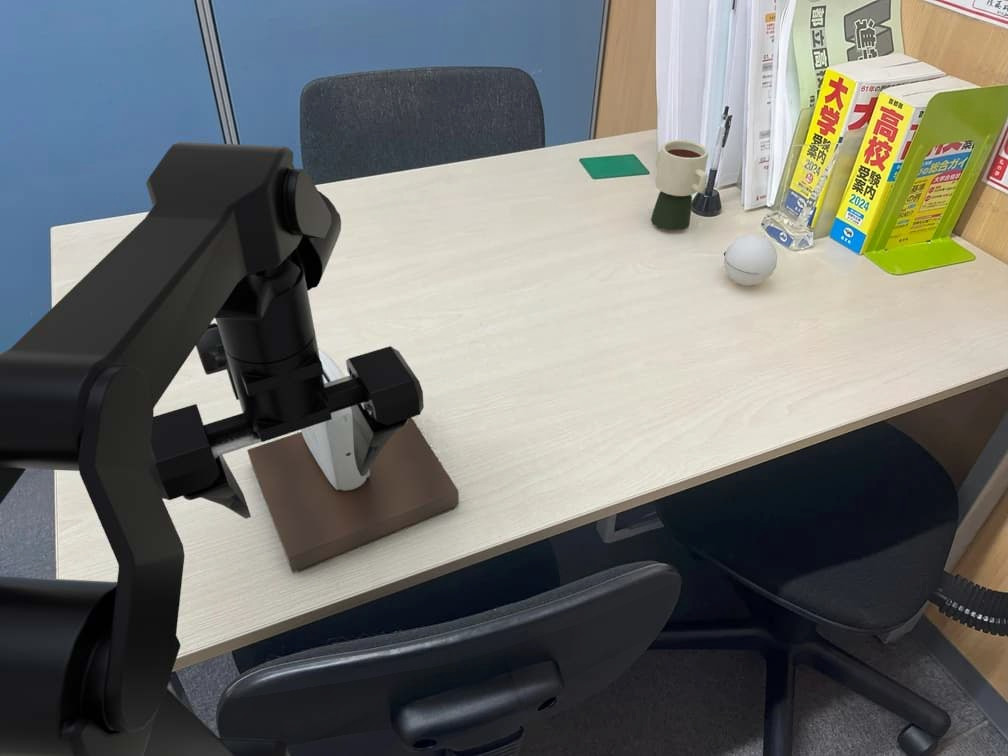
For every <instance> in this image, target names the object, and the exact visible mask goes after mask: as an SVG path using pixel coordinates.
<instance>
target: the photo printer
mask: <svg viewBox="0 0 1008 756" xmlns="http://www.w3.org/2000/svg"><path fill="white" fill-rule="evenodd" d="M318 352H319V357H320V360H321V362H322V367H323V373H324V374H323V379H324V383H327V382H331V381H334V380H337V379H340V378H344V377H347V376H346V375H345V373H344V372H343V370H342V369H341V368H340V366H339V365H338V364H337V362H335V360H334V359H333V358H332V357H331V356H330V355H329V354H328V353H327V352H326V351H325V350H323V348H320V347H318ZM331 417H332V419H331V420H328V421H325V422H322V423H319V424H316V425H313V426H310V427H307V428H304V429H301V430H300V432H302V435H303V437H304V440H305V442H306V444H307V446H308V448H309V449H310V451H311V453H312V454H313V456H314V458H315V459H316V461H317V463H318V464H319V466H320V468H321V469H322V471H323V472H324V474H325V476H326V477H327V479H328V480H329V482H330V483H331V484H332V485H333V487H334V488H335V489H337V490H339V489H341V490H343V491H347V490H352V489H355V488H358V487H359V486H361V485H362V484H363V483H364V482H365V481H366V478H367V477H369V475H370V469H369V471H368V472H367V474H366V475H364V476H361V475H360V473H359V471H358V469H357V466H356V461H355V456H354V441H353V420H352V409H351V407H348V408H345V409H342V410H339V411H336V412H333V413H331Z"/></svg>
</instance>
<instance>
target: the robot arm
mask: <svg viewBox="0 0 1008 756" xmlns="http://www.w3.org/2000/svg"><path fill="white" fill-rule="evenodd" d="M293 163H294V152H293V150H292V149H291V148H290V147H289V146H282V145H281V146H279V145H259V144H258V145H256V144H237V143H235V144H234V143H215V142H214V143H212V142H194V141H193V142H191V141H187V142H186V141H178V142H176V143H173V144H172V145H171V146H170V147H169V148H168V150H167V151H166V152H165V154H164V155H163V156H162V158H161V159H160V160H159V162H158V163H157V165H156V167H155V168H154V170H153V171H152V172H151V173H150V175H149V176H148V178H147V180H146V181H145V184H146V188H147V191H148V195H149V199H150V204H151V206H152V207H151V208H150V210H149V211H148V213H147V214H146V216H145V217H144V218H143V219H142V220H141V221H140V222H139V223H138V224H137V225H136V226H135V227H134V228H133V229H132V230H131V231H130V232H129V233H128V234H127V235H126V236H125V237H124V238H122V239H121V240H120V242H119V243H117V244H116V246H115V247H113V249H111V250H110V252H108V253H107V254H106V256H104V257H103V258H102V259H101V260H100V261H99V262H98V263H97V264H96V265H95V266H94V267H93V268H92V269H91V270H89V272H88V273H86V275H85V276H84V277H82V278H81V280H79V281H78V283H76V284H75V285H74V286H73V287H72V288H70V290H69V291H67V293H66V294H64V296H63V297H62V298H61V299H60V300H59V301H58V302H57V303H56V304H55V305H54V306H53V307H52V308H51V309H50V310H48V312H47V313H45V314H44V315H43V316H42V317H41V318H40V319H39V320H38V321H37V322H36V323H35V324H34V325H33V326H32V327H31V328H30V329H29V330H28V331H26V332H25V334H24V335H23V336H21V338H19V339H18V341H17V342H15V343H14V345H13V346H11V347H10V348H9V349H7V350H6V351H3V352H2V353H0V505H2V503H3V502H4V500H5V499H6V497H7V496H8V495H9V493H10V492H11V491H12V489H13V488H14V487H15V485H16V483H17V482H18V481H19V480H20V478H21V477H22V475H24V473H25V472H26V470H27V469H28V470H49V471H50V470H51V471H71V472H73V471H74V472H79V475H80V478H81V480H82V482H83V486H84V487H85V490H86V492H87V495H88V497H89V499H90V501H91V504H92V506H93V508H94V511H95V513H96V515H97V518H98V520H99V522H100V524H101V525H100V526H101V527H102V529H103V532H104V535H105V536H106V538H107V542H108V543H109V546H110V548H111V551H112V553H113V555H114V557H115V560H116V561H117V565H118V572H117V580H116V581H106V580H105V581H103V580H88V579H87V580H86V579H85V580H84V579H66V578H65V579H64V578H45V577H43V578H42V577H25V576H24V577H23V576H5V575H0V756H292V754H291V753H290V749H289V747H288V746H287V745H286V744H285V743H284V742H282V741H281V740H277V739H259V738H241V737H240V738H238V737H221V736H220V737H219V736H217V734H215V732H213V730H212V729H210V727H208V725H207V724H206V723H205V722H203V721H202V719H201V718H200V717H198V716H197V715H196V713H195V712H194V711H193V710H192V709H190V707H188V705H186V703H184V701H182V700H181V699H180V697H178V695H176V694H175V693H174V692H173V690H171V689H170V688H169V683H170V680H171V675H172V673H173V670H174V666H175V663H176V661H177V658H178V655H179V652H180V649H181V642H180V640H179V638H178V636H177V631H178V622H179V613H180V601H181V593H182V585H183V574H184V565H185V557H186V556H185V549H184V545H183V542H182V539H181V537H180V535H179V533H178V531H177V528H176V527H175V526H176V525H175V524H174V522H173V519H172V517H171V515H170V512H169V511H168V508H167V506H166V504H165V501H164V500H167V501H172V500H175V499H178V498H180V497H183V499H184V500H186V501H193V500H196V499H203V500H207V501H210V502H213V503H216V504H218V505H221V506H223V507H225V508H227V509H228V510H230V511H232V512H233V513H235V514H237V515H238V516H240V517H242V518H244V519H249V518H251V517H252V516H251V512H250V509H249V506H248V503H247V501H246V498H245V495H244V492H243V490H242V488H241V487H240V485H239V483H238V481H237V479H236V478H235V475H234V474H233V472H232V470H231V468H230V467H229V465H228V463H227V460H226V459H225V457H224V455H226V454H229V453H231V452H235V451H238V450H241V449H243V448H247V447H251V446H253V445H256V444H259V443H265V442H267V441H271V440H274V439H276V438H279V437H282V436H285V435H289V434H292V433H294V432H297V431H298V432H299V431H301V429H304V428H307V427H310V426H313V425H316V424H319V423H322V422H325V421H328V420H331V419H332V417H331V413H333V412H336V411H339V410H342V409H345V408H348V407H351V409H352V420H353V441H354V456H355V461H356V466H357V469H358V471H359V473H360V475H361V476H364V475H366V474H367V472H368V471H369V469H370V467H371V466H372V464H373V462H374V461H375V459H376V457H377V456H378V454H379V453H380V451H381V450H382V448H383V447H384V446H385V444H386V443H387V442H388V440H389V439H390V438H391V437H392V435H393V434H394V433H395V432H396V430H397V429H399V428H401V427H404V426H405V425H406V424H407V423H408V418H411V417H412V418H415V417H418V416H420V415H421V414H422V412H423V410H424V408H425V407H424V392H423V388H422V385H421V382H420V380H419V379H418V377H417V376H416V374H415V373H414V372H413V370H412V369H411V367H410V366H409V364H408V362H407V361H406V359H405V357H403V355H402V354H401V353H400V351H399V350H397V349H396V348H394V347H393V346H392V345H389V346H385V347H383V348H380V349H376V350H372V351H369V352H366V353H365V352H364V353H363V354H359V355H355V356H352V357H349V358H347V359H346V360H345V364H346V371H347V373H348V376H346V377H344V378H340V379H337V380H334V381H331V382H327V383H324V379H323V374H324V373H323V367H322V362H321V360H320V357H319V352H318V348H319V346H318V342H317V335H316V330H315V325H314V318H313V313H312V309H311V308H312V307H311V304H310V303H311V301H310V297H309V292H308V291H310V290H312V289H315V288H317V287H318V286H319V284H320V282H321V280H322V278H323V275H324V273H325V271H326V268H327V266H328V263H329V261H330V258H331V256H332V254H333V251H334V249H335V246H336V245H337V242H338V239H339V237H340V234H341V231H342V218H341V214H340V212H338V210H337V208H336V207H335V205H334V204H333V202H332V201H331V200H330V198H328V197H327V196H326V195H325V194H323V192H321V191H319V190H318V188H317V187H316V184H315V183H314V181H313V179H312V177H311V174H310V173H309V172H308V171H307V169H306V168H295V165H294V164H293ZM214 319H215V322H213V321H214ZM212 322H213V323H212ZM195 347H196V350H197V354H198V357H199V359H200V363H201V366H202V368H203V372H204V373H205V375H207V376H208V375H213V374H216V373H219V372H223V371H226V372H227V375H228V376H227V377H228V379H229V383H230V385H231V389H232V392H233V395H234V397H235V399H236V401H239V405H240V408H241V411H242V413H238V414H235V415H232V416H229V417H228V416H227V417H226V418H223V419H222V418H221V419H219V420H216V421H212V422H210V423H206V424H204V422H203V419H202V415H201V413H200V410H199V407H198V405H197V403H195V404H191V405H188V406H184V407H181V408H178V409H175V410H174V409H173V410H171V411H168V412H163V413H161V414H158V415H155V416H154V409H155V407H156V405H157V404H158V403H159V401H160V399H162V396H163V395H164V393H166V391H167V389H168V387H169V386H170V385H171V383H172V382H173V381H174V379H175V377H176V375H177V374H178V373H179V371H180V370H181V368H183V365H184V364H185V362H186V361H187V360H188V358H189V356H190V355H191V353H192V352H193V351H194V350H195Z"/></svg>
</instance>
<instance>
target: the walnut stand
mask: <svg viewBox="0 0 1008 756" xmlns="http://www.w3.org/2000/svg"><path fill="white" fill-rule="evenodd" d="M246 452H247V454H248V455H247V456H248V458H249V461H250V465H251V467H252V470H253V473H254V476H255V478H256V480H257V483H258V486H259V489H260V491H261V493H262V497H263V499H264V502H265V504H266V507H267V510H268V512H269V515H270V517H271V520H272V523H273V526H274V529H275V531H276V533H277V536H278V539H279V541H280V544H281V547H282V550H283V552H284V555H285V558H286V560H287V563H288V565H289V568H290V571H291V573H294V572H297V573H300V572H302V571H305V570H308V569H311V568H313V567H315V566H317V565H320V564H322V563H325V562H327V561H329V560H332V559H334V558H337V557H339V556H342V555H344V554H347V553H349V552H351V551H354V550H356V549H359V548H362V547H364V546H366V545H369V544H371V543H373V542H377V541H379V540H382V539H383V538H386V537H388V536H391V535H393V534H396V533H398V532H401V531H403V530H405V529H409V528H410V527H413V526H416V525H418V524H421V523H422V522H425V521H428V520H429V519H430V520H431V519H433V518H435V517H437V516H440V515H443V514H445V513H447V512H450V511H452V510H455V508H456V507H457V506H459V505H460V501H459V499H460V498H459V497H460V495H459V489H458V488H457V486H456V485H455V483H454V482H453V480H452V479H451V476H450V475H449V474H448V472H447V470H446V469H445V468H444V466H443V464H442V463H441V461H440V460H439V458H438V456H437V455H436V453H435V452H434V450H433V449H432V447H431V445H430V444H429V443H428V441H427V439H426V438H425V437H424V434H423V433H422V431H421V429H420V428H419V427H418V425H417V424H416V422H415V421H414V419H413V417H411V418H408V423H407V424H406V425H405V426H404V427H401V428H399V429H397V430H396V432H395V433H394V434H393V435H392V437H391V438H390V439H389V440H388V442H387V443H386V444H385V446H384V447H383V448H382V450H381V451H380V453H379V454H378V456H377V457H376V459H375V461H374V462H373V464H372V466H371V467H370V475H369V477H367V478H366V481H365V482H364V483H363V484H362V485H361V486H359V487H358V488H355V489H352V490H347V491H343V490H341V489H339V490H337V489H335V488H334V487H333V485H332V484H331V483H330V482H329V480H328V479H327V477H326V476H325V474H324V472H323V471H322V469H321V468H320V466H319V464H318V463H317V461H316V459H315V458H314V456H313V454H312V453H311V451H310V449H309V448H308V446H307V444H306V442H305V440H304V437H303V435H302V431H298V432H296V433H293V434H290V435H288V436H284V437H281V438H279V439H275V440H271V441H269V442H266V443H263V444H260V445H257V446H254V447H251V448H248V449H247V450H246Z"/></svg>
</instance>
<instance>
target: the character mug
mask: <svg viewBox="0 0 1008 756" xmlns="http://www.w3.org/2000/svg"><path fill="white" fill-rule="evenodd" d="M708 157H709V151H708V148H707V147H706V146H704V145H703V144H701V143H699V142H695V141H689V140H681V139H680V140H678V139H676V140H669V141H667V142H664V143H663V145H662V146H661V147H660V148H659V149H658V151H657V155H656V161H655V167H656V168H657V169H656V176H655V186H656V188H657V189H658V190H659V194H658V195H657V198H656V202H655V205H654V207H653V211H652V214H651V217H650V220H651V223H652V225H654V226H655V227H656V228H658V229H662V230H666V231H679V230H685V229H688V228H689V226H690V223H691V217H692V215H691V214H692V205H693V204H692V202H693V195H694V194H696V193H699V194H703V193H704V192H705V189H706V185H707V180H708V173H707V172H706V170H707V169H706V168H707V161H708Z"/></svg>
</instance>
